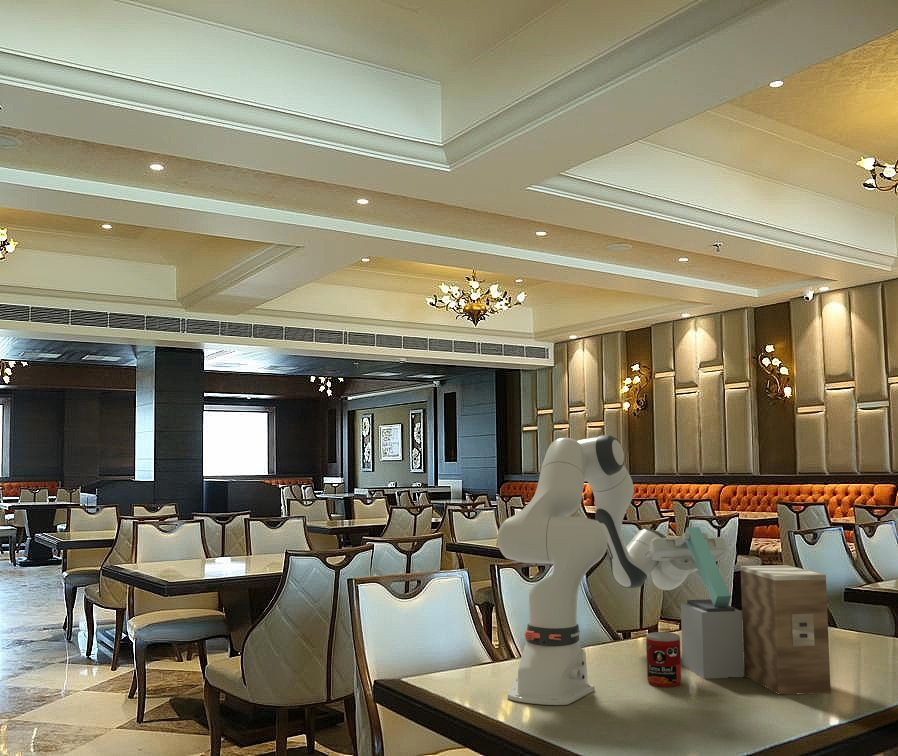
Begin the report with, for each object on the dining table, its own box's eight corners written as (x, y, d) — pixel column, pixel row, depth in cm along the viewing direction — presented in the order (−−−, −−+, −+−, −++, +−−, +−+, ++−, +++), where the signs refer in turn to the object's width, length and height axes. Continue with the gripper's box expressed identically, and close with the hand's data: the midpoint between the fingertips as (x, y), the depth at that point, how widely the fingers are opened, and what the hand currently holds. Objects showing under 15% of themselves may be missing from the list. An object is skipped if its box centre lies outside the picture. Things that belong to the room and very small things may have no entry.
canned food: (643, 685, 206) (642, 636, 207) (652, 677, 213) (651, 630, 214) (676, 689, 203) (675, 639, 204) (684, 681, 210) (683, 633, 211)
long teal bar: (683, 537, 236) (686, 527, 234) (696, 537, 237) (699, 527, 235) (714, 606, 217) (717, 596, 215) (727, 606, 217) (731, 596, 215)
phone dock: (682, 665, 226) (680, 599, 227) (720, 664, 227) (718, 598, 228) (703, 678, 212) (701, 609, 213) (744, 677, 213) (741, 608, 214)
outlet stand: (744, 675, 215) (740, 566, 217) (791, 673, 216) (787, 565, 218) (780, 695, 197) (776, 576, 199) (832, 693, 198) (827, 575, 200)
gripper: (641, 547, 244) (655, 525, 233) (713, 546, 246) (730, 524, 235) (645, 568, 241) (659, 547, 230) (718, 567, 243) (736, 546, 231)
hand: (696, 535), depth 232 cm, fingers closed on long teal bar, 3 cm apart
